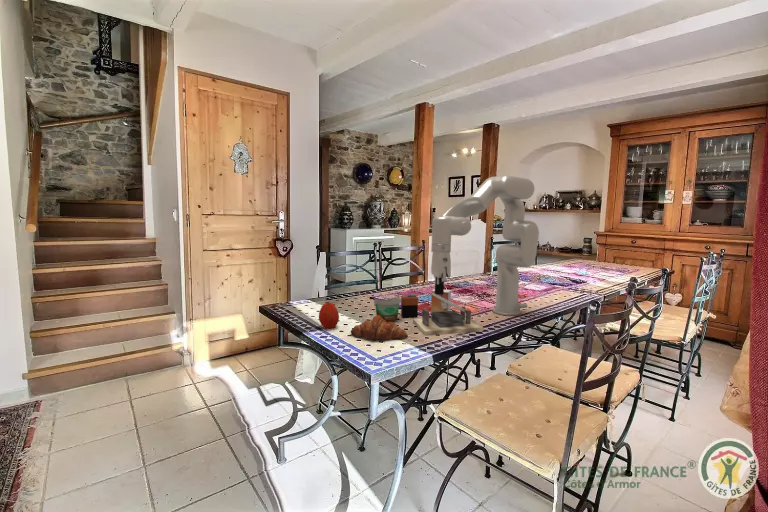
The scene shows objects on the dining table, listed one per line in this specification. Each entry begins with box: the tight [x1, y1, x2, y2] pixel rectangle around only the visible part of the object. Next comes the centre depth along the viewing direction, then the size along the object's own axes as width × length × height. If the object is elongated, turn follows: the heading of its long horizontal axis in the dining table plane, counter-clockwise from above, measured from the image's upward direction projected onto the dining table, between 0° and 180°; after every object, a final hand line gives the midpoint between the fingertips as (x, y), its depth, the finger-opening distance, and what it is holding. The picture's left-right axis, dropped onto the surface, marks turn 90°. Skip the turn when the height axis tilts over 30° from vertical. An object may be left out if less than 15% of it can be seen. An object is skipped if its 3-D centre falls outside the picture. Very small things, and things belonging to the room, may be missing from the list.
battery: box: [400, 293, 419, 319], centre depth 164 cm, size 4×7×10 cm, turn 98°
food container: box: [373, 295, 401, 323], centre depth 157 cm, size 12×6×10 cm, turn 118°
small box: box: [430, 288, 452, 314], centre depth 170 cm, size 8×6×10 cm
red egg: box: [318, 301, 340, 330], centre depth 148 cm, size 8×8×11 cm
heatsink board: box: [412, 306, 485, 336], centre depth 150 cm, size 24×16×8 cm, turn 102°
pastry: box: [350, 314, 409, 342], centre depth 139 cm, size 17×15×8 cm
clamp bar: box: [431, 292, 467, 314], centre depth 149 cm, size 17×4×1 cm, turn 103°
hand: (439, 293), depth 147 cm, fingers closed
